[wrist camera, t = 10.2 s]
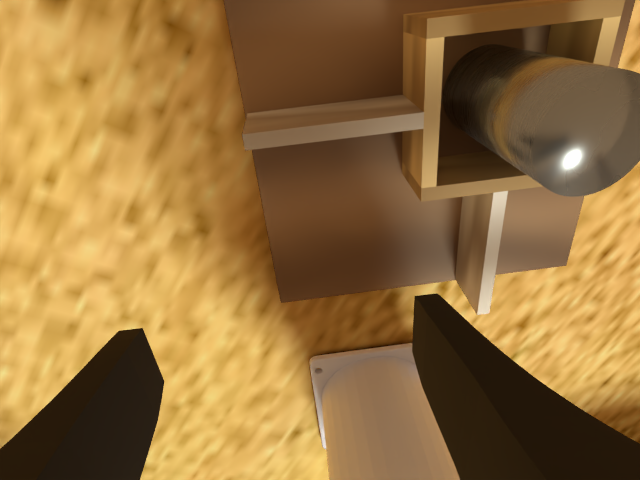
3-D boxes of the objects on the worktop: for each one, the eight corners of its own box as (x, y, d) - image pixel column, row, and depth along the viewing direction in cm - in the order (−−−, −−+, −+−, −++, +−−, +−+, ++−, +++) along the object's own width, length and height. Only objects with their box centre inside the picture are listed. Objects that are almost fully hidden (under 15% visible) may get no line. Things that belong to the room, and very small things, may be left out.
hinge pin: (517, 129, 19) (634, 190, 13) (439, 135, 18) (521, 202, 12) (533, 41, 17) (680, 64, 11) (447, 47, 17) (548, 75, 11)
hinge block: (557, 257, 24) (602, 299, 20) (280, 293, 23) (281, 342, 20) (644, -98, 15) (742, -122, 12) (216, -50, 15) (199, -61, 12)
